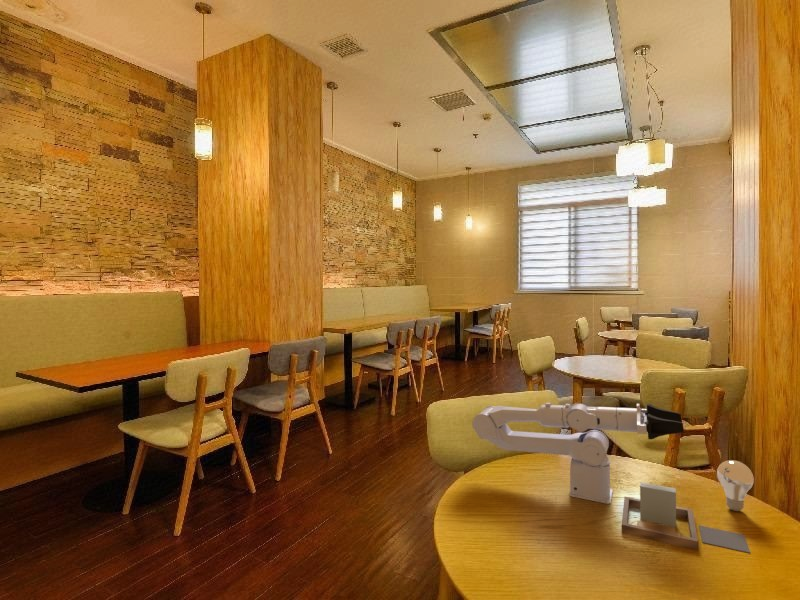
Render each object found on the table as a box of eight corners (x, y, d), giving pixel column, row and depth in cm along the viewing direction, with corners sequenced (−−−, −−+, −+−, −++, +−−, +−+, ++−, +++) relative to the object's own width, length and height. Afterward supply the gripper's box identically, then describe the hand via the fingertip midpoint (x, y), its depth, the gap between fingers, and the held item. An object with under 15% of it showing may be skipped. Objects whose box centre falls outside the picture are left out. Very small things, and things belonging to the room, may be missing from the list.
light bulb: (760, 519, 101) (760, 468, 100) (725, 517, 102) (726, 466, 102) (743, 504, 108) (743, 456, 107) (711, 502, 109) (711, 454, 108)
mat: (702, 543, 93) (702, 541, 93) (699, 526, 99) (699, 525, 99) (750, 553, 89) (750, 552, 89) (743, 535, 95) (743, 534, 95)
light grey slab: (640, 520, 102) (640, 486, 102) (640, 515, 104) (640, 482, 104) (675, 527, 99) (675, 492, 98) (675, 522, 101) (675, 488, 100)
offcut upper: (638, 532, 97) (638, 528, 97) (637, 524, 100) (637, 520, 100) (676, 539, 94) (676, 535, 94) (674, 531, 97) (674, 526, 97)
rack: (621, 533, 97) (621, 524, 97) (624, 504, 109) (624, 496, 109) (698, 551, 90) (698, 541, 90) (692, 517, 102) (692, 509, 102)
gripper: (614, 411, 104) (682, 414, 98) (618, 396, 117) (678, 398, 110) (617, 440, 104) (685, 445, 98) (620, 422, 117) (681, 426, 110)
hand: (682, 422), depth 104 cm, fingers open, 7 cm apart
